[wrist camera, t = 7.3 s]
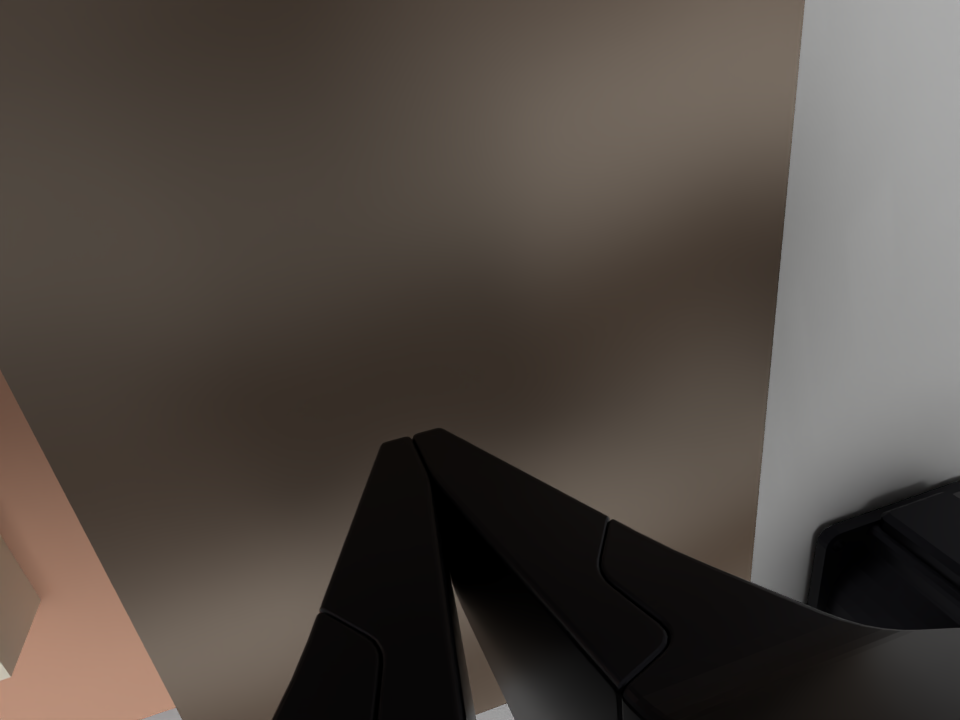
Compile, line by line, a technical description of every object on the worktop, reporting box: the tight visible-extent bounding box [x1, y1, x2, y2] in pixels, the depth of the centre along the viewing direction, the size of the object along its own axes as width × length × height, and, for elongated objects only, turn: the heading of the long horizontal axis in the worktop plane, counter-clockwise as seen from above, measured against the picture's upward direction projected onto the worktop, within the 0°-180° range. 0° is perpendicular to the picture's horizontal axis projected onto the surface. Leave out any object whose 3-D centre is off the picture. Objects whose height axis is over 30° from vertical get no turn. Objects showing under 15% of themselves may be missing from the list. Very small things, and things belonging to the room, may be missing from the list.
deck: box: [0, 0, 805, 720], centre depth 12 cm, size 16×12×4 cm
